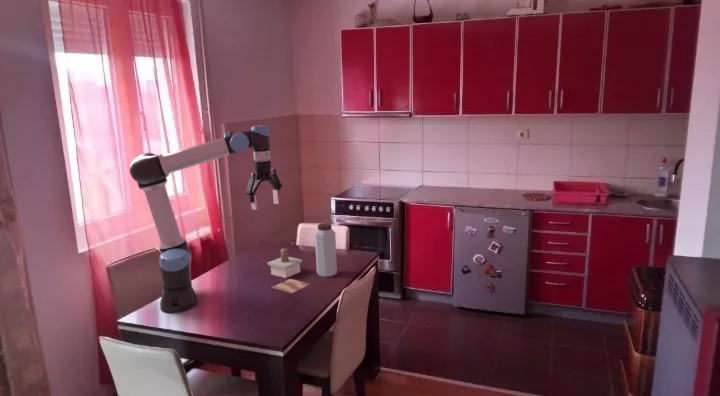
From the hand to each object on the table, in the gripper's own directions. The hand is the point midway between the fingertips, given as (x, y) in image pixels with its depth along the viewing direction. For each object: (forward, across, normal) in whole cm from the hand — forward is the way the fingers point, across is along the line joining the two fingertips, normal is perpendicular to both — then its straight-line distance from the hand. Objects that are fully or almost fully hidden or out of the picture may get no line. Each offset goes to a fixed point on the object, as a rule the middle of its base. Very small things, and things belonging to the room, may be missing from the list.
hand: (265, 206), depth 232 cm
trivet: (+37, +1, -12) cm, 39 cm away
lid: (+31, +12, +2) cm, 33 cm away
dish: (+37, +12, +2) cm, 39 cm away
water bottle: (+37, +22, -16) cm, 46 cm away
